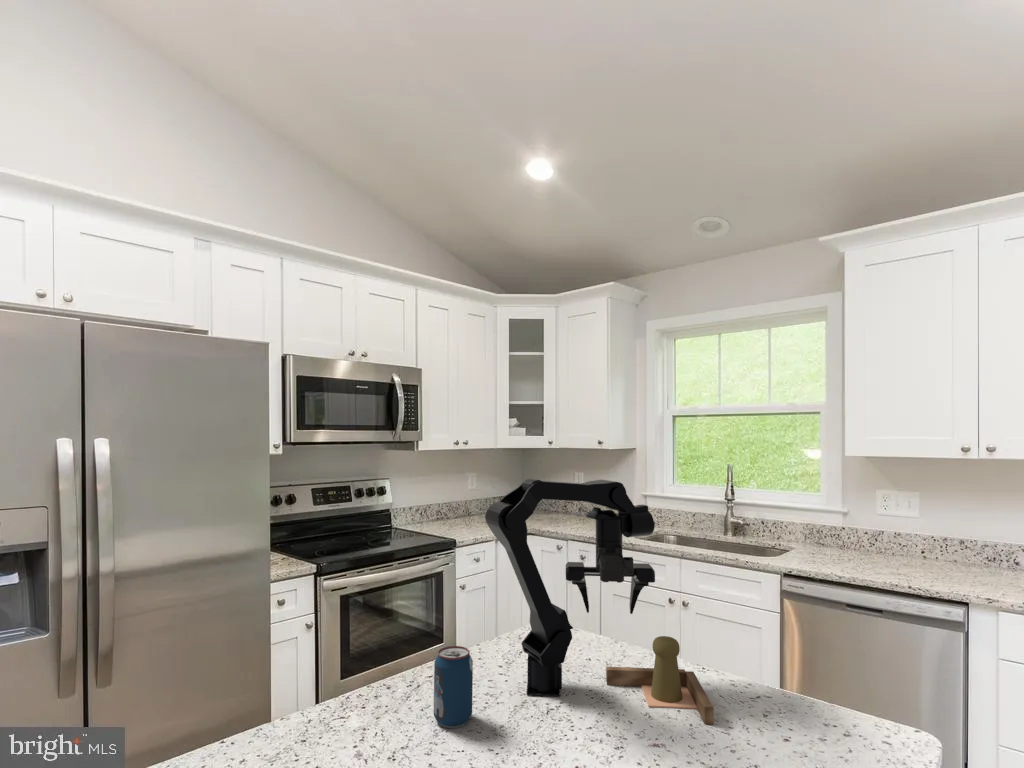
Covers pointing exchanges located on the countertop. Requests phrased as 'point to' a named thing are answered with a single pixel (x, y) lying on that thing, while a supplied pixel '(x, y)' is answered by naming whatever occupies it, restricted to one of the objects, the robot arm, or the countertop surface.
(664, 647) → the olive pepper mill
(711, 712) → the corner arena
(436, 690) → the soda can
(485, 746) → the countertop surface
